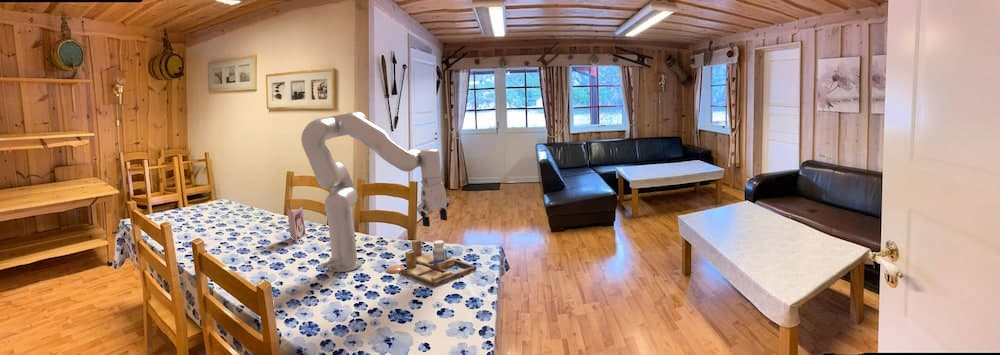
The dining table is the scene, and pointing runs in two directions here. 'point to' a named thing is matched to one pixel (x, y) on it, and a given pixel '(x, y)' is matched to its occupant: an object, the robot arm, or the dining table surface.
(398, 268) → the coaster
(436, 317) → the dining table surface
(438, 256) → the pill bottle
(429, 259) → the slat bottle lane
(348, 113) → the robot arm
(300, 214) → the greeting card
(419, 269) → the tan wooden block
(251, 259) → the dining table surface
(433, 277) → the lane rails
